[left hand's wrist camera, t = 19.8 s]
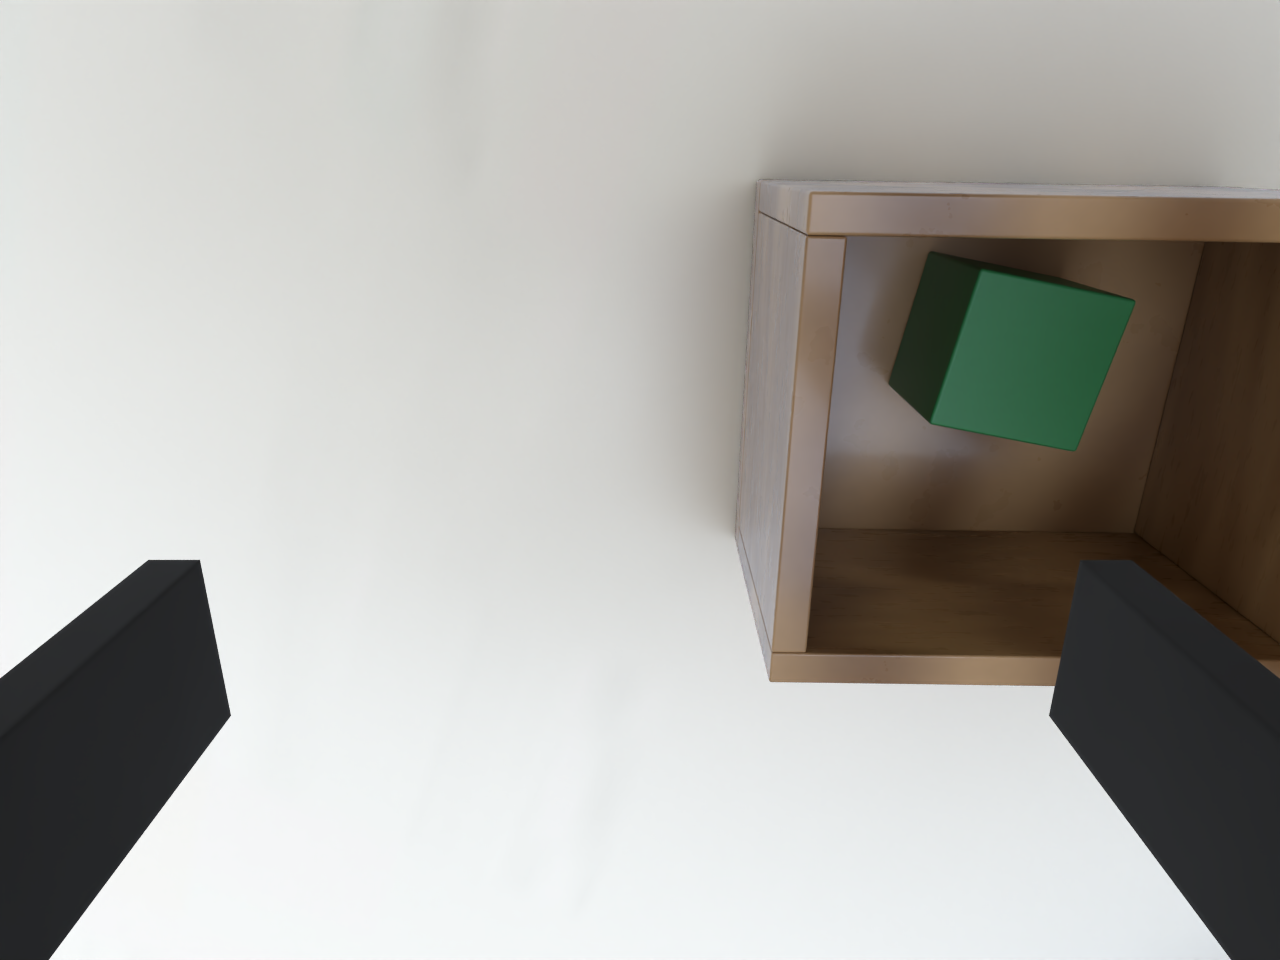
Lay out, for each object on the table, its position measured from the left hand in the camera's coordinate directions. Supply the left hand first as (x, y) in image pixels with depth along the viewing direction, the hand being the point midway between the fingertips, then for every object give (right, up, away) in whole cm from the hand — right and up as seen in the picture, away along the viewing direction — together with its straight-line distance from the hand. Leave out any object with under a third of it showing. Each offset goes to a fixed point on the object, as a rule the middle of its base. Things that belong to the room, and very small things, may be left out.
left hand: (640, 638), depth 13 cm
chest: (+11, +6, +15) cm, 19 cm away
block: (+8, +7, +11) cm, 16 cm away
